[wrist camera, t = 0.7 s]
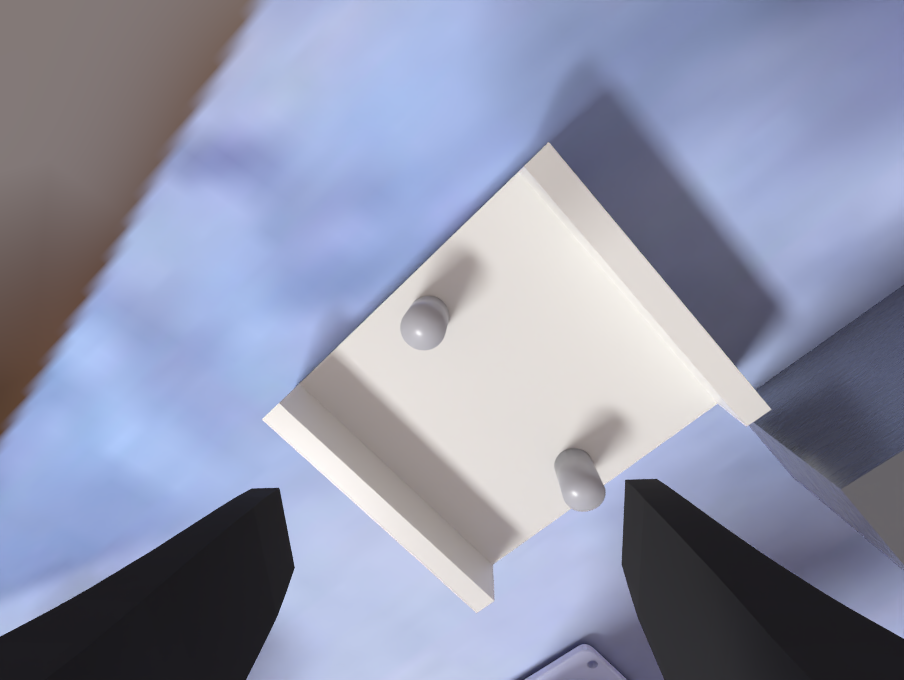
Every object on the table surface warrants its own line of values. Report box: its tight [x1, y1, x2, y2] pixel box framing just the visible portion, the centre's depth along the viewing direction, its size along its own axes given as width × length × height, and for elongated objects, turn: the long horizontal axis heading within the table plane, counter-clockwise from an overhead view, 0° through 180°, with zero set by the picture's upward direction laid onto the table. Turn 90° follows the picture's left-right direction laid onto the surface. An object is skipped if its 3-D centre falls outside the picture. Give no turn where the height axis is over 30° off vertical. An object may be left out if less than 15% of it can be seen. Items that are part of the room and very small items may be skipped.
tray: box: [262, 142, 771, 613], centre depth 18 cm, size 12×14×3 cm
